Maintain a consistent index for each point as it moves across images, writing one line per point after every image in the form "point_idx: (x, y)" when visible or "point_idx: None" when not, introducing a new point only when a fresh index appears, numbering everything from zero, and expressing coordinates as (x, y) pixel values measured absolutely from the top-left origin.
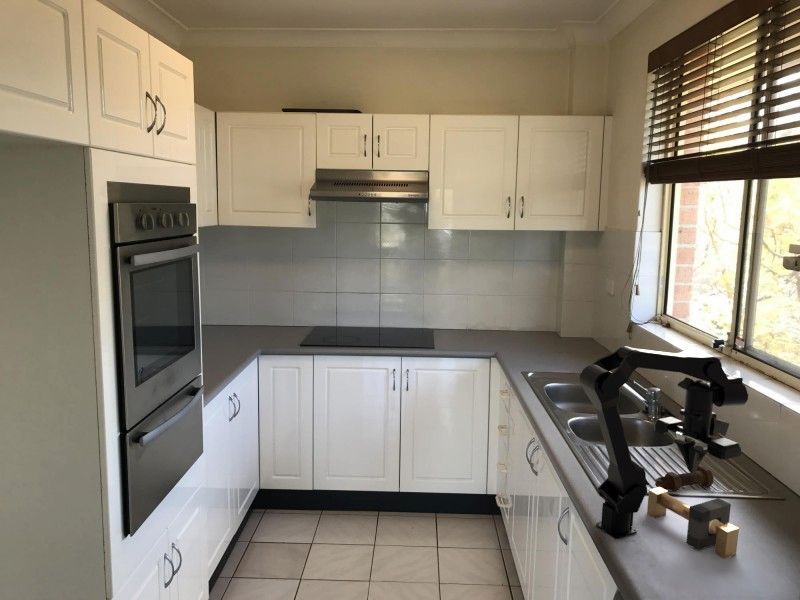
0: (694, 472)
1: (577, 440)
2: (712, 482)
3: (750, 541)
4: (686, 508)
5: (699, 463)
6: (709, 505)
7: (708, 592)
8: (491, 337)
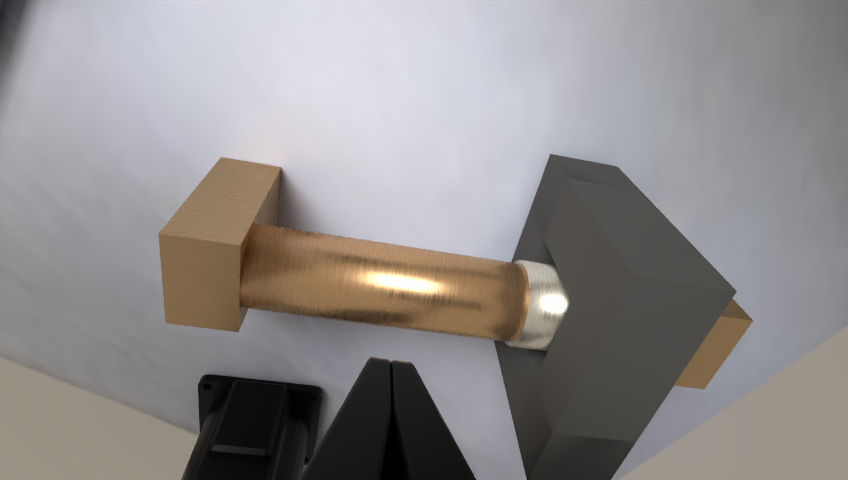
0: (408, 366)
1: None
2: None
3: (717, 52)
4: (447, 333)
5: (466, 477)
6: (613, 405)
7: (640, 461)
8: None
